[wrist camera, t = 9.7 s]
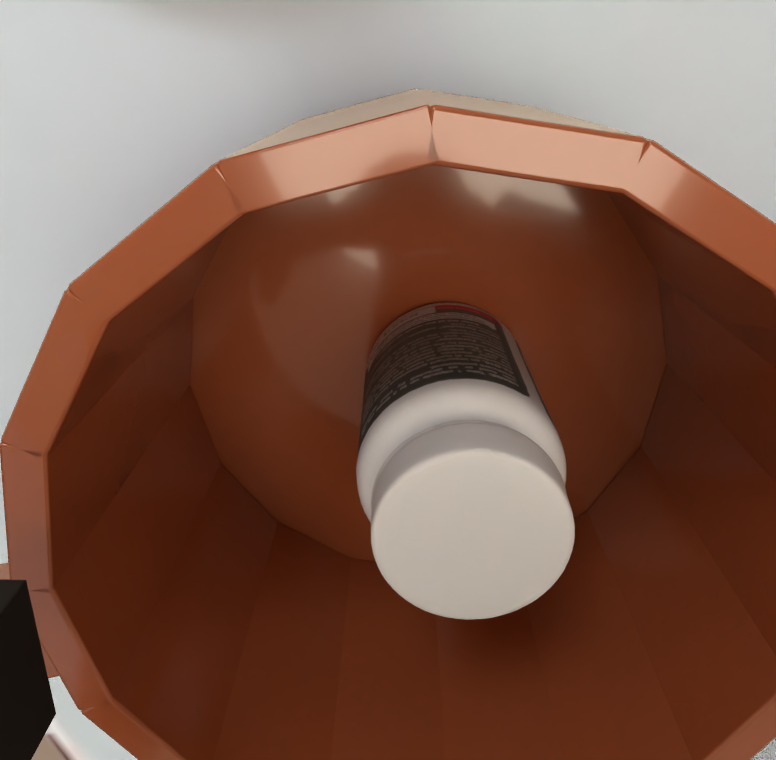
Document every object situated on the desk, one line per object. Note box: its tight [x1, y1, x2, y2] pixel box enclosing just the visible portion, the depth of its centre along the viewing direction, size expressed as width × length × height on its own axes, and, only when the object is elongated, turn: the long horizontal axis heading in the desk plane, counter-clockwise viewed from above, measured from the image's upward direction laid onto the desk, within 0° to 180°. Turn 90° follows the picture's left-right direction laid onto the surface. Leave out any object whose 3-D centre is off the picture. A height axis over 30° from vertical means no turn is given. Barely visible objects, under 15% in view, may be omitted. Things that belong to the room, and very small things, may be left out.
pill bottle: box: [356, 302, 575, 620], centre depth 18 cm, size 5×5×8 cm
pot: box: [0, 89, 776, 760], centre depth 18 cm, size 16×21×10 cm
